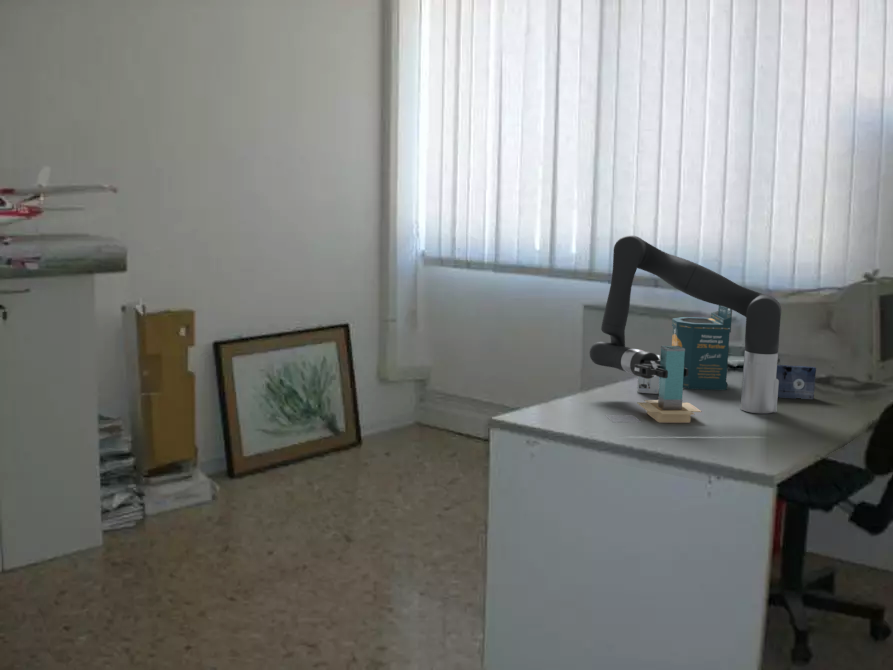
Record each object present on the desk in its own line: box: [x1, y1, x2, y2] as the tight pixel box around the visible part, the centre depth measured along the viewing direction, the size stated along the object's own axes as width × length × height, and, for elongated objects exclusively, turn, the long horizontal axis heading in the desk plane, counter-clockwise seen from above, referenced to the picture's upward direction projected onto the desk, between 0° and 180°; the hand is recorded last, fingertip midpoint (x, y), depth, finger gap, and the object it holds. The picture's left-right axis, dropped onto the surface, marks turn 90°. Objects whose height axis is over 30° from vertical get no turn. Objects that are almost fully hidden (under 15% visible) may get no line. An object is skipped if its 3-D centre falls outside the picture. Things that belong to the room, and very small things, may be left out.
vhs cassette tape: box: [776, 364, 817, 400], centre depth 317 cm, size 18×3×10 cm, turn 80°
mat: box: [604, 414, 642, 423], centre depth 281 cm, size 8×8×1 cm
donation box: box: [671, 305, 733, 391], centre depth 332 cm, size 16×16×28 cm
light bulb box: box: [636, 354, 661, 395], centre depth 321 cm, size 11×7×11 cm, turn 168°
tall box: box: [657, 345, 685, 410], centre depth 281 cm, size 5×5×17 cm
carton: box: [636, 399, 702, 424], centre depth 283 cm, size 15×17×4 cm
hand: (677, 373), depth 279 cm, fingers closed on tall box, 6 cm apart
